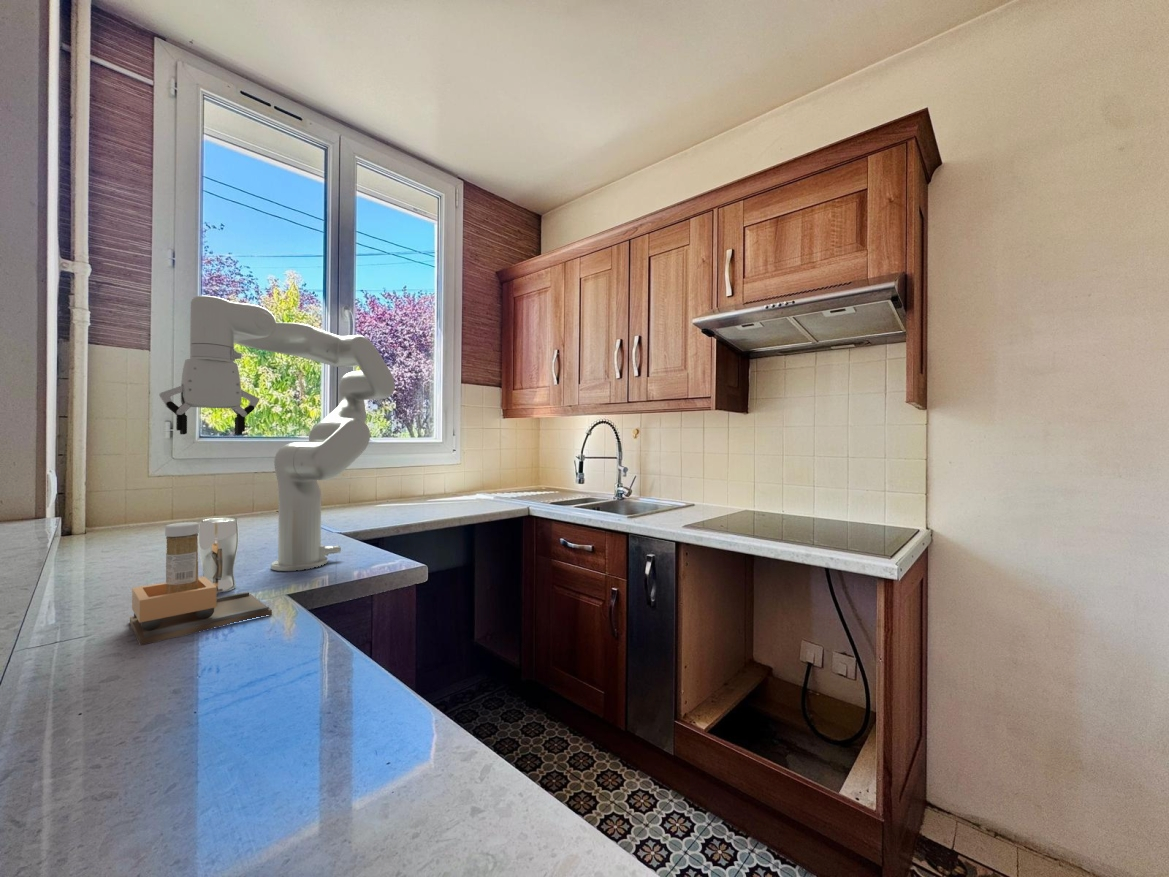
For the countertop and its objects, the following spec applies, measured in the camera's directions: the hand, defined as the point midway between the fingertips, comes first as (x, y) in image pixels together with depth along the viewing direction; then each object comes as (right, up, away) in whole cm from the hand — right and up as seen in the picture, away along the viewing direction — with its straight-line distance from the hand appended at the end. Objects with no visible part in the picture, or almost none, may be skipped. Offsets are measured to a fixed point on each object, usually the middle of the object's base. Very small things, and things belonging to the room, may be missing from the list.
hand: (211, 434), depth 106 cm
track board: (+12, -33, -18) cm, 40 cm away
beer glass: (+2, -34, -1) cm, 34 cm away
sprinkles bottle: (+10, -29, -20) cm, 37 cm away
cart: (+9, -32, -21) cm, 39 cm away
